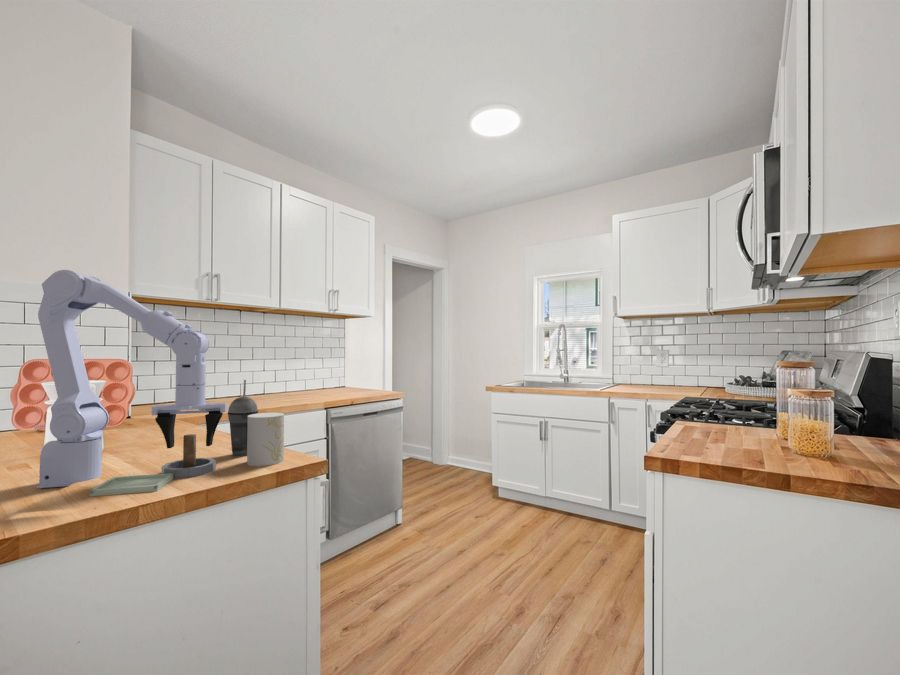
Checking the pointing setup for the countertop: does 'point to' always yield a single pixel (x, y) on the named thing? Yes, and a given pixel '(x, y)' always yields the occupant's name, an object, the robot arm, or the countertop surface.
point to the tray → (132, 484)
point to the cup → (265, 439)
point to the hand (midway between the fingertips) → (190, 446)
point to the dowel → (189, 451)
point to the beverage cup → (240, 422)
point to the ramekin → (177, 468)
